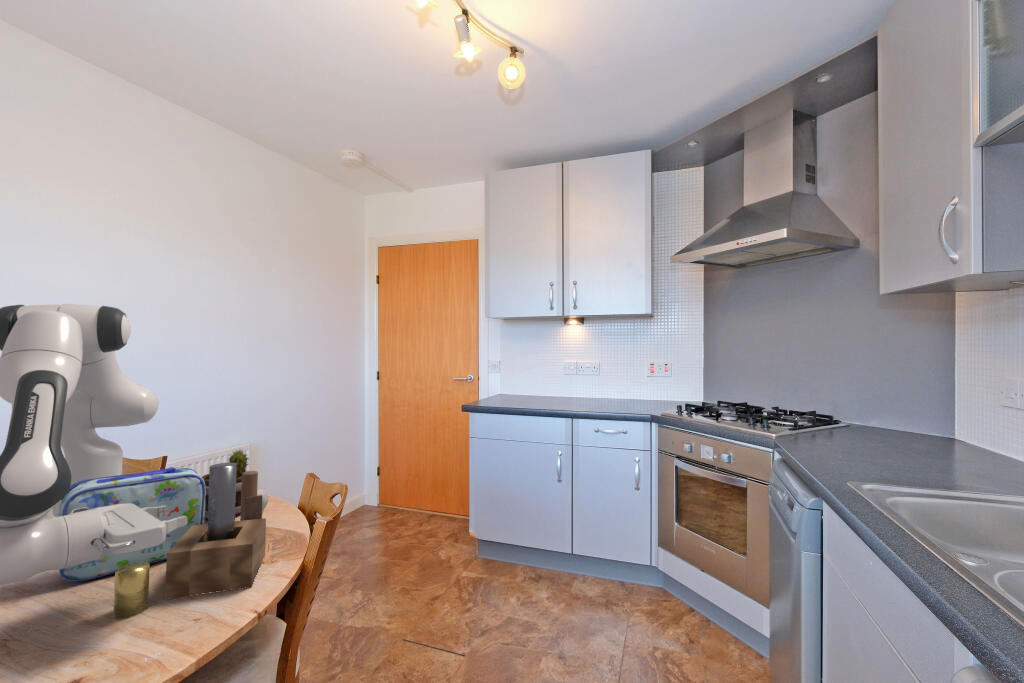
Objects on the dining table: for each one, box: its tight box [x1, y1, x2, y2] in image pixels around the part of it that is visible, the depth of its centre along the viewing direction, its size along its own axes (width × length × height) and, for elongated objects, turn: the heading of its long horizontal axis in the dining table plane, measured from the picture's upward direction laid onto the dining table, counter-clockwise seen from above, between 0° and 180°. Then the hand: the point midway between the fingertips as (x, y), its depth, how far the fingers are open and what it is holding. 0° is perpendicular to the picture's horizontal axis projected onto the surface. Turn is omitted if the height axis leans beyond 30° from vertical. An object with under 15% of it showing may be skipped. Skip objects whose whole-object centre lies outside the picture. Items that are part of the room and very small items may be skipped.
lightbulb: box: [257, 488, 269, 515], centre depth 123 cm, size 6×6×11 cm
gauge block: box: [164, 518, 267, 600], centre depth 98 cm, size 15×15×9 cm
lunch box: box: [58, 466, 206, 582], centre depth 104 cm, size 26×11×21 cm, turn 137°
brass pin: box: [113, 562, 151, 619], centre depth 84 cm, size 5×5×8 cm
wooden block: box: [239, 470, 263, 521], centre depth 112 cm, size 4×11×18 cm, turn 38°
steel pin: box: [207, 462, 237, 542], centre depth 98 cm, size 5×5×24 cm
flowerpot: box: [201, 447, 250, 520], centre depth 134 cm, size 14×15×20 cm
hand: (177, 514), depth 91 cm, fingers open, 8 cm apart
